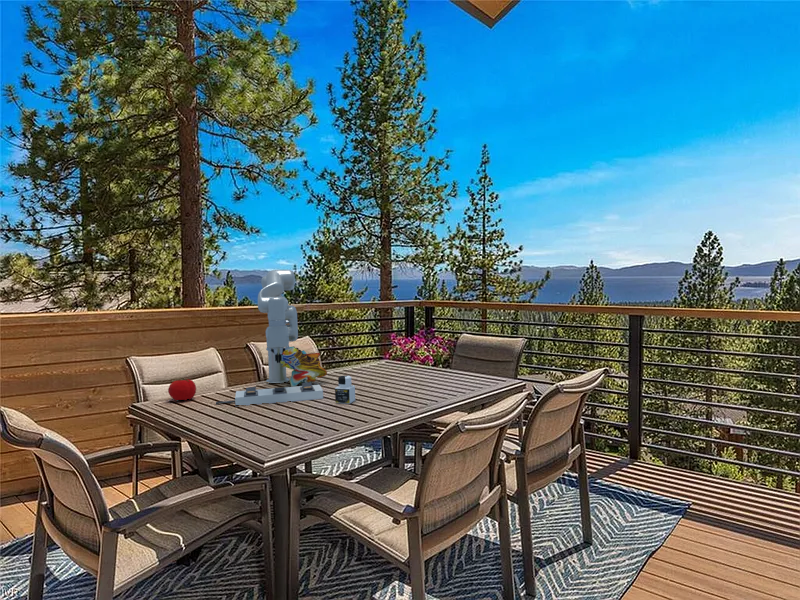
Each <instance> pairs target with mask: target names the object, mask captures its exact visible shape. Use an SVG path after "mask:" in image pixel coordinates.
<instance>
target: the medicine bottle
mask: <svg viewBox="0 0 800 600" xmlns="http://www.w3.org/2000/svg"><path fill="white" fill-rule="evenodd" d="M337 381H338V382H337V383H338V385H337V386H336V387H335V388H334V397H335V398H334V399H335V400H334V401H335V402H334V403H335V404H343V405H344V404H345V405H347V404H348V405H349V404H350V405H351V404H352V403H353V402H355V401H356V386H355V385H352V376H350V375H340V376H339V377H338V379H337Z"/></svg>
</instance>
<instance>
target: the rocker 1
mask: <svg viewBox="0 0 800 600" xmlns="http://www.w3.org/2000/svg"><path fill="white" fill-rule="evenodd" d="M256 390H257V386H250V387H249V386H247V387H246V388H245V391H246V395H255V394H256Z"/></svg>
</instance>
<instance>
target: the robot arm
mask: <svg viewBox="0 0 800 600" xmlns="http://www.w3.org/2000/svg"><path fill="white" fill-rule="evenodd" d="M295 282H296V277H295V273H294V272H293V270H291V269H271V270H269V271H268V272H267V274H266V275H264V276H262V277H261V280H260V283H261V287H262V289H260V291H259V292H258V294H257V309H258V311H259V312H260V313H264V314H265V313H266V314H267V319H268V326H267V327H266V329H265V337H266V338H265V339H266V348H265V349H266V351H267V360H268V361H267V363H268V379H266V380H265V382H269V383H280V384H284V382H286V383H288V381H289V382H290V377H289V378H288V377H287V368H286V367H282V366H283V364H281V362H280V361H282V353H283V352H284V351H285V350H288V349H290V347H291V346H290V343H291V342H293V343H294V342H296V341H297V340H298V338H299V328H298V311H297V308H296V306H294V305H289V301H288V299H287V298H286V297H285V296H283V295H282V294H283V293H284V291H292V290H293V289H294V287H295V284H296V283H295ZM269 383H268V384H269Z"/></svg>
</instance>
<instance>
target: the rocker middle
mask: <svg viewBox="0 0 800 600" xmlns="http://www.w3.org/2000/svg"><path fill="white" fill-rule="evenodd" d="M284 387H285V386H281V387H273V388H274V389H275V391H283V390H285V388H284Z"/></svg>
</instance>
